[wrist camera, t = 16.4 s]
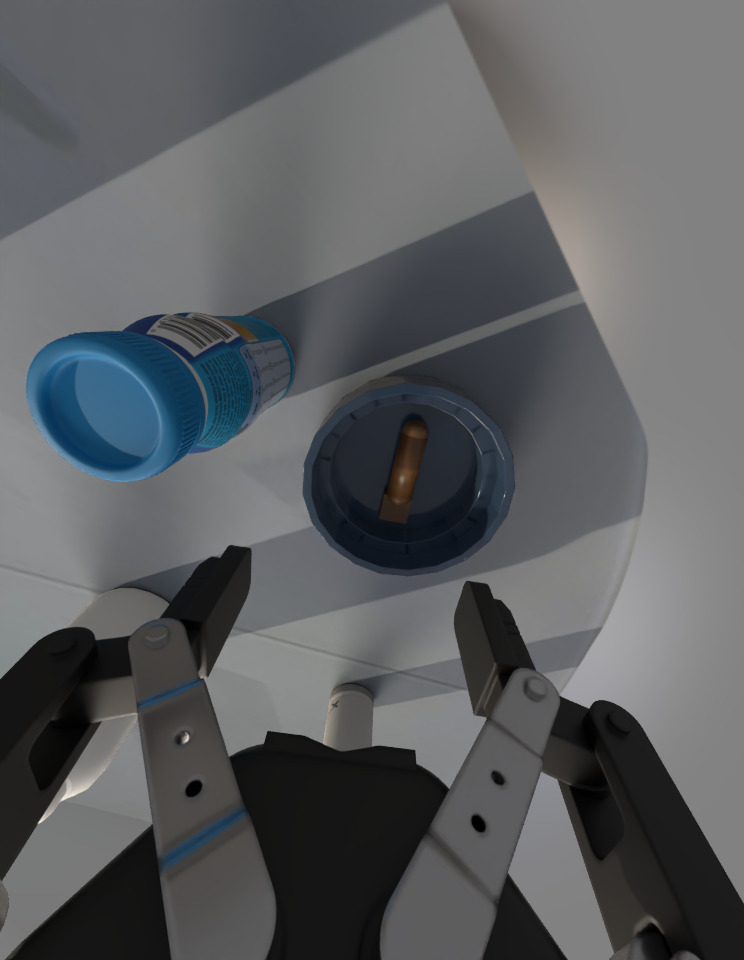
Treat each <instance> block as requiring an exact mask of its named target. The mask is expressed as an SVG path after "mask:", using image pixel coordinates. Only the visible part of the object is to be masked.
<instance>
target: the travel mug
mask: <svg viewBox="0 0 744 960" xmlns="http://www.w3.org/2000/svg"><path fill="white" fill-rule="evenodd" d="M372 726H373V696H372V694H371V693H370V691H369V690H368V689H366V688H365V687H362V686H360V685H356V684H345V685H341V686H339V687H337V688H335V689H334V690H333V691H332V693H331V696H330V702H329V708H328V715H327V722H326V728H325V735H324V742H323V744H324V745H327V746H329V747H331V748H333V749H336V750H338V751H349V750H355V749H361V748H367V747H372Z"/></svg>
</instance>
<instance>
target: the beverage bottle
mask: <svg viewBox="0 0 744 960" xmlns="http://www.w3.org/2000/svg"><path fill="white" fill-rule="evenodd" d="M294 374H295V362H294V357H293V353H292V350H291V348H290V346H289V344H288V342H287V340H286V339H285V338H284V336H283V335H282V334H281V333H280V332H279V331H278V330H277V329H276V328H275V327H274V326H272V325H271V324H270V323H268V322H266V321H264V320H262V319H259V318H256V317H251V316H210V315H206V314H201V313H178V314H173V315H168V314H163V315H154V316H149V317H146V318H143V319H140V320H138V321H136V322H134V323H133V324H131V325H129V326H128V327H126V328H125V329H124V330H123V331H104V332H84V333H75V334H74V335H69V336H67V337H62V338H60V339H57V340H55V341H53V342H51V343H49V344H48V345H46V346H45V347H44V348H43V349H42V350H41V351H40V352H39V353H38V354H37V355H36V357H35V358H34V360H33V361H32V363H31V366H30V368H29V371H28V375H27V383H26V392H27V400H28V405H29V408H30V411H31V414H32V417H33V419H34V421H35V423H36V425H37V427H38V429H39V430H40V432H41V434H42V435H43V436H44V438H45V439H46V440H47V442H48V443H49V444H50V445H51V446H52V448H53V449H54V450H55V451H56V452H57V453H58V454H60V455H61V456H62V457H63V458H64V459H65V460H67V461H68V462H69V463H71V464H72V465H74V466H75V467H77V468H79V469H80V470H82V471H84V472H86V473H88V474H91V475H93V476H96V477H98V478H102V479H105V480H110V481H117V482H131V481H138V480H142V479H146V478H148V477H152V476H154V475H157V474H159V473H161V472H163V471H164V470H166V469H167V468H169V467H170V466H171V465H173V464H174V463H176V462H177V461H179V460H180V459H181V458H183V457H184V456H185V455H187V454H190V453H200V452H205V451H209V450H212V449H215V448H217V447H219V446H221V445H223V444H225V443H226V442H228V441H229V440H230V439H231V438H233V437H235V436H237V435H239V434H240V433H242V432H243V431H245V430H246V429H247V428H249V427H250V426H251V425H252V424H253V422H254V421H255V420H256V418H257V417H258V415H260V414H261V413H262V412H264V411H265V410H266V409H268V408H269V407H271V406H273V405H274V404H276V403H277V402H279V401H280V400H281V399H282V398H283V397H284V396H285V395H286V394H287V393H288V391H289V389H290V388H291V385H292V383H293V379H294Z"/></svg>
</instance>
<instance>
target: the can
mask: <svg viewBox="0 0 744 960" xmlns="http://www.w3.org/2000/svg"><path fill="white" fill-rule="evenodd" d="M168 606H169V603H168V602H166V601H165V600H164V599H162V598H160V597H158V596H156V595H154V594H152V593H151V592H147V591H143V590H140V589H136V588H118V589H114V590H110V591H107V592H104V593H102V594H101V595H100V596H98V597H97V598H95V599H94V600H93V601H92V602H91V603H90V604H89V605H88V606H86V607H85V608H84V609H83V610H82V611H81V612H80V613H79V614H78V615H77V616H76V617H75V618H74V619H73V620H72V621H71V622H70V623H69V624H68V625H67V626H66V627H65V628H69V627H84V628H87V629H90V630H91V631H92V632H93V633H94V635H95V639H96V640H100V639H109V638H117V637H124V636H129V635H132V634H133V632H134V631H135V630H136V629H138V628H139V627H140V626H142V625H143V624H145V623H147V622H149V621H152V620H155V619H159V618H160V617H161V615H162V614H163V613H164V611H165V610H166V608H167V607H168ZM137 719H138V715H132V716H126V717H121V718H115V719H110V720H105V721H102V723H101V724H100V726H99V727H98V729H97V731H96V732H95V734H94V735H93V737H92V739H91V740H90V742H89V743H88V745H87V746H86V748H85V750H84V751H83V753H82V754H81V756H80V758H79V759H78V761H77V762H76V764H75V766H74V767H73V769H72V770H71V772H70V774H69V775H68V777H67V778H66V780H65V781H64V783H63V785H62V786H61V788H60V789H59V791H58V793H57V794H56V796H55V797H54V799H53V801H52V802H51V804H50V805H49V807H48V809H47V810H46V812H45V813H44V815H43V816H42V818H41V820H40V821H39V823H41V822H42V821H43V820H45V819H46V818H47V817H48V816H49V815H50V814H51V813H53V811H54V810H55V808H56V806H57V805H58V804H59V802H60V801H63V800H65V799H67V798H70V797H72V796H74V795H76V794H78V793H81V792H83V791H85V790H87V789H88V788H89V787H90V786H91V785H92V784H93V783H94V782H95V780H96V779H97V778H98V777H99V776H100V775H101V774H102V773H103V772H104V770H105V769H106V768H107V766H108V765H109V764H110V762H111V761H112V759H113V757H114V756H115V754H116V752H117V751H118V749H119V748H120V746H121V744H122V743H123V741H124V740H125V738H126V736H127V735H128V733H129V732H130V730H131V728H132V727H133V725H134V724H135V722H136V720H137ZM39 823H38V824H39Z"/></svg>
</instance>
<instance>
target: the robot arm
mask: <svg viewBox="0 0 744 960" xmlns="http://www.w3.org/2000/svg"><path fill="white" fill-rule="evenodd" d="M250 583H251V548H247V547H240V546H234V545H229V546H228V547H227V549H226V550H225V552H224V553H223V554H222V556H221V557H220V558H217V557H210V558H209V559H207V560H206V561H204V562H203V563H201V564H200V565H198V567H197V568H196V569H195V571H194V572H193V574H192V575H191V577H190V578H189V579H188V580H187V582H186V583H185V586H183V587H182V588H181V590H180V591H179V592H178V594H177V595H176V596H175V598H174V599H173V600H172V602H171V603H170V604H169V606H168V607H167V608H166V610H165V611H164V613H163V614H162V615H161V617H160V618H159V619H155V620H152V621H149V622H147V623H145V624H143V625H142V626H140V627H139V628H138V629H136V630H135V631H134V632H133V634H132V635H129V636H124V637H117V638H109V639H100V640H96V639H95V635H94V633H93V632H92V631H91V630H90V629H87V628H84V627H69V628H64V629H61V630H58V631H55V632H53V633H51V634H49V635H47V636H45V637H43V638H42V639H41V640H39V641H38V642H37V643H36V644H34V645H33V646H32V647H31V648H30V649H29V650H28V651H27V653H26V654H25V655H24V656H23V657H22V658H21V659H20V660H19V661H18V662H17V663H16V664H15V665H14V666H13V667H12V668H11V669H10V670H9V671H8V672H7V673H6V674H5V675H4V676H3V677H2V678H1V679H0V931H1V929H2V927H3V925H4V922H5V919H6V917H7V913H8V908H9V897H8V893H7V891H6V889H5V887H4V885H3V883H2V880H3V878H4V877H5V875H6V873H7V872H8V871H9V869H10V867H11V866H12V864H13V863H14V861H15V859H16V858H17V856H18V855H19V853H20V851H21V850H22V848H23V847H24V845H25V843H26V842H27V840H28V839H29V837H30V835H31V834H32V832H33V831H34V829H35V828H36V826H37V824H38V823H39V821H40V820H41V818H42V816H43V815H44V813H45V812H46V810H47V809H48V807H49V805H50V804H51V802H52V801H53V799H54V797H55V796H56V794H57V793H58V791H59V789H60V788H61V786H62V785H63V783H64V781H65V780H66V778H67V777H68V775H69V774H70V772H71V770H72V769H73V767H74V766H75V764H76V762H77V761H78V759H79V758H80V756H81V754H82V753H83V751H84V750H85V748H86V746H87V745H88V743H89V742H90V740H91V739H92V737H93V735H94V734H95V732H96V731H97V729H98V727H99V726H100V724H101V723H102V721H105V720H110V719H115V718H121V717H126V716H132V715H138V722H139V729H140V736H141V744H142V751H143V758H144V765H145V772H146V779H147V786H148V794H149V801H150V808H151V815H152V822H153V824H152V825H151V826H150V827H148V828H147V829H146V830H145V831H144V832H143V833H142V834H141V835H140V836H138V837H137V838H136V839H135V840H134V841H133V842H132V843H131V844H130V845H128V846H127V847H126V848H125V849H124V850H123V851H122V852H121V853H120V854H119V855H117V856H116V857H115V858H114V859H113V860H112V861H111V862H110V863H109V864H107V865H106V866H105V867H104V868H103V869H102V870H101V871H100V872H99V873H98V874H96V875H95V877H93V878H92V879H91V880H90V881H89V882H88V883H86V884H85V885H84V886H83V887H82V888H81V889H80V890H79V891H78V892H77V893H76V894H74V895H73V896H72V897H71V898H70V899H69V900H68V901H66V902H65V903H64V904H63V905H62V906H61V907H60V908H59V909H58V910H57V911H55V912H54V913H53V914H52V915H51V916H50V917H49V918H48V919H47V920H45V921H44V922H43V923H42V924H41V925H40V926H39V927H38V928H37V929H36V930H34V931H33V932H32V933H31V934H30V935H29V936H28V937H27V938H26V939H24V940H23V941H22V942H21V943H20V944H19V945H18V946H17V947H16V948H15V950H14V951H12V953H11V954H10V955H9V956H8V957H7V958H6V959H5V960H568V959H567V958H566V957H565V955H564V954H563V952H562V951H561V949H560V948H559V946H558V945H557V944H556V942H555V941H554V939H553V938H552V936H551V935H550V933H549V932H548V930H547V929H546V928H545V926H544V925H543V923H542V922H541V920H540V919H539V917H538V916H537V914H536V913H535V912H534V910H533V909H532V907H531V906H530V904H529V903H528V901H527V900H526V899H525V897H524V896H523V894H522V893H521V891H520V890H519V888H518V887H517V885H516V884H515V883H514V881H513V880H512V878H511V877H510V875H509V874H508V870H509V867H510V864H511V861H512V858H513V855H514V852H515V849H516V846H517V843H518V840H519V837H520V834H521V831H522V828H523V825H524V822H525V819H526V816H527V813H528V810H529V807H530V804H531V800H532V797H533V794H534V791H535V788H536V785H537V782H538V779H539V776H540V773H541V772H543V773H545V774H547V775H549V776H551V777H554V778H555V779H557V780H558V783H559V786H560V789H561V792H562V795H563V798H564V801H565V804H566V807H567V810H568V813H569V816H570V819H571V823H572V825H573V829H574V831H575V835H576V838H577V841H578V844H579V847H580V850H581V853H582V856H583V859H584V862H585V865H586V868H587V872H588V875H589V878H590V881H591V884H592V887H593V890H594V893H595V896H596V899H597V902H598V905H599V908H600V911H601V914H602V917H603V920H604V924H605V927H606V930H607V933H608V936H609V939H610V942H611V945H612V948H613V951H614V955H612V957H611V958H610V959H609V960H744V903H743V902H742V900H741V898H740V897H739V895H738V893H737V892H736V890H735V888H734V886H733V884H732V883H731V881H730V879H729V878H728V876H727V874H726V872H725V870H724V869H723V867H722V865H721V863H720V862H719V860H718V858H717V857H716V855H715V854H714V851H713V850H712V848H711V846H710V845H709V843H708V841H707V839H706V838H705V836H704V834H703V832H702V831H701V829H700V827H699V825H698V824H697V822H696V820H695V818H694V817H693V815H692V813H691V811H690V810H689V808H688V806H687V805H686V803H685V801H684V799H683V798H682V796H681V794H680V792H679V791H678V789H677V787H676V785H675V784H674V782H673V780H672V779H671V777H670V775H669V773H668V772H667V770H666V768H665V766H664V765H663V763H662V761H661V759H660V758H659V756H658V754H657V752H656V751H655V749H654V747H653V745H652V744H651V742H650V740H649V739H648V737H647V735H646V733H645V732H644V730H643V728H642V727H641V725H640V724H639V723H638V722H637V720H636V719H635V718H634V717H633V716H632V715H631V714H630V713H629V712H627V711H626V710H625V709H623V708H622V707H620V706H618V705H616V704H614V703H612V702H609V701H605V700H599V701H595V702H594V703H593V704H592V705H591V707H590V709H588V708H586V707H584V706H581V705H579V704H577V703H574V702H572V701H569V700H567V699H565V698H563V697H561V696H559V694H558V691H557V690H556V688H555V686H554V685H553V684H552V683H551V682H550V681H549V680H548V679H547V678H546V677H545V676H543V675H542V674H540V673H539V672H537V671H536V669H535V667H534V665H533V662H532V660H531V658H530V655H529V653H528V651H527V648H526V646H525V644H524V641H523V639H522V637H521V635H520V632H519V630H518V627H517V625H516V623H515V620H514V618H513V616H512V613H511V611H510V610H509V609H508V608H507V607H506V606H505V604H504V603H503V602H502V601H501V600H497V599H494V598H493V595H492V593H491V590H490V588H489V586H488V584H485V583H478V582H471V581H466V583H465V584H464V587H463V590H462V593H461V596H460V599H459V602H458V605H457V608H456V611H455V616H454V629H455V634H456V638H457V643H458V647H459V651H460V656H461V660H462V665H463V669H464V673H465V678H466V682H467V687H468V691H469V696H470V700H471V704H472V709H473V713H474V715H476V716H483V717H486V718H487V720H486V722H485V724H484V725H483V727H482V729H481V731H480V733H479V735H478V737H477V739H476V740H475V742H474V744H473V746H472V748H471V750H470V752H469V754H468V755H467V757H466V759H465V761H464V763H463V765H462V767H461V769H460V771H459V772H458V774H457V776H456V778H455V780H454V782H453V784H452V786H451V787H450V789H449V788H448V787H447V786H446V785H445V784H444V783H443V782H442V781H441V780H440V779H439V778H438V777H436V776H435V775H434V774H433V773H431V772H430V771H428V770H427V769H425V768H423V767H422V766H420V765H417V764H416V754H415V750H410V749H402V748H394V747H387V746H374V747H367V748H361V749H355V750H349V751H338V750H336V749H333V748H331V747H329V746H327V745H324V744H322V743H320V742H317V741H315V740H313V739H311V738H308V737H306V736H302V735H294V734H287V733H279V732H271V731H267V735H266V739H265V742H264V744H261V745H256V746H252V747H249V748H246V749H244V750H242V751H239V752H237V753H235V754H234V755H232V756H230V757H229V756H228V753H227V750H226V746H225V743H224V740H223V737H222V734H221V730H220V727H219V724H218V721H217V718H216V714H215V711H214V708H213V705H212V702H211V698H210V695H209V692H208V689H207V686H206V683H205V681H204V679H203V678H208V676H209V674H210V672H211V670H212V668H213V666H214V664H215V662H216V660H217V658H218V656H219V654H220V652H221V650H222V648H223V646H224V644H225V642H226V639H227V637H228V635H229V633H230V631H231V629H232V627H233V625H234V623H235V621H236V619H237V617H238V615H239V613H240V611H241V609H242V607H243V605H244V602H245V600H246V598H247V596H248V593H249V589H250ZM200 677H202V679H200Z"/></svg>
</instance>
